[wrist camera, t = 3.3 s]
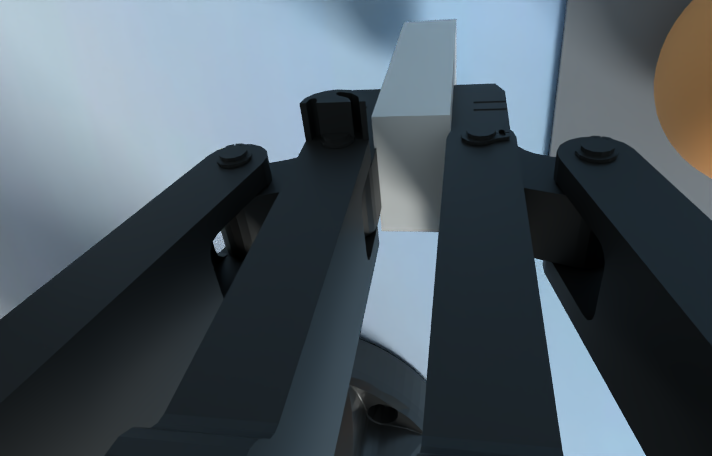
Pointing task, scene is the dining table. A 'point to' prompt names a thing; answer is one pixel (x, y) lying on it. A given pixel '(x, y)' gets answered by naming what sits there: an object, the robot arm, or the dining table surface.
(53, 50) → the dining table surface
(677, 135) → the ball
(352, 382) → the robot arm
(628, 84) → the mat
